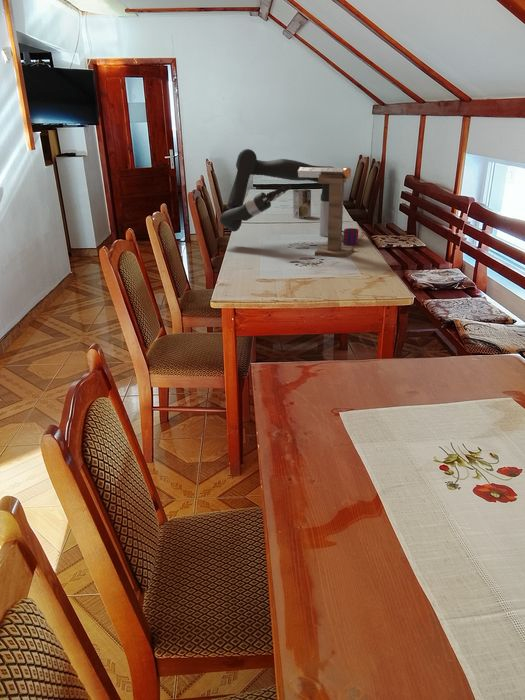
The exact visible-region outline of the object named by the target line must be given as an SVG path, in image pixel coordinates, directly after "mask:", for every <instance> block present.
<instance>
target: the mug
mask: <svg viewBox="0 0 525 700" xmlns="http://www.w3.org/2000/svg"><path fill="white" fill-rule="evenodd" d="M342 234H343V239H342V243H343V245H344V244H345V245H344V246H357V245H358V243H359V229H358V228H353V227H351V228H349V227H348V228H344V230H342Z"/></svg>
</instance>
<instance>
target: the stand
mask: <svg viewBox="0 0 525 700" xmlns="http://www.w3.org/2000/svg"><path fill="white" fill-rule="evenodd" d="M345 183H347V179H343V175H330V174H319V178H318V182H317V184H329V216H328V236H327V245H325V244H324V245H322V246H321V247H319V248H318V249H316V250H314V256H318V255H321V257H335V258H345V257H346V258H347V257H348V256H350V254H351V253H352V252H353V251H354V246H342V243H343V242H342V241H343V239H342V238H343V232H342V231H343V217H344V216H343V215H344V214H343V213H344V190H345V189H344V188H345V185H344V184H345Z"/></svg>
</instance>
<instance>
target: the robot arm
mask: <svg viewBox="0 0 525 700" xmlns="http://www.w3.org/2000/svg"><path fill="white" fill-rule="evenodd" d="M235 163H236V164H235V167H236V169H237V171H236V176H235V179H234V182H233V185H232V188H231V189H230V190H231V191H230V195H229V196H228V197H229V198H228V201H227V208H228V210H225V211H224V212H223V213H222V214H221V215H220V217H219V223H220V224H221V225H222V226H223V227H225V228H227V229H228V230H229V231H231V232H234V233H235V232H237V231H238V230H240V227H242V223H243V221H244V222H246V221H248V220H251V219H252V218H253V217H256V216H258V215H260V214H261V213H263V212H265V211H266V210H268V209H270V208H271V206H272V203H271V202H274V201H276V199H278V198H280V197H281V196H282V195H284V194H286V192H288V191H290V190H291V189H292V185H291V184H290V183H287V184H286V185H285V186H283V185H282V186H279V187H278V188H276V189H275V190H274V189H273V190H271V191H269V192H267V193H265V192H260V193H259V194H256V195H255V196H253V197H251V198H250V199H249V200H248V201H247V202H245V197H246V193H247V189H248V183H249V180H250V176H251V175H252V176H265V177H271V178H277V179H283V180H290V181H300V182H301V181H310V182H315V183H318V178H311V177H298V169H299V168H300V167H315V168H335V167H334V166H330V165H329V166H328V165H327V166H326V165H324V166H322V165H312V164H308V163H305V162H301V161H297V160H293V159H288V158H287V159H286V158H279V159H274V160H273V159H272V160H261V159H260V160H259V159H258V158H257V154H256V153H255V151H254V150H252V149H249V148H245V149H242V150H241V151H240V152H239V154H238V155H237V159H236V162H235ZM321 187H322V188H321V194H320V211H319V236H321V237H328V216H329V184H322V185H321ZM244 202H245V203H244Z"/></svg>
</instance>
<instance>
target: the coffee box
mask: <svg viewBox="0 0 525 700" xmlns="http://www.w3.org/2000/svg"><path fill="white" fill-rule="evenodd" d="M292 193H293V195H292V198H293V199H292V202H293V203H292V204H293V205H292V207H293V209H292V211H293V213H292V215H293V218H295V217H296V218H295V219H304V217H306V218H311V217H312V213H311V212H312V208H311V207H312V190H311V189H309V188H301V189H294V190H292ZM310 216H311V217H310Z"/></svg>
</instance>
